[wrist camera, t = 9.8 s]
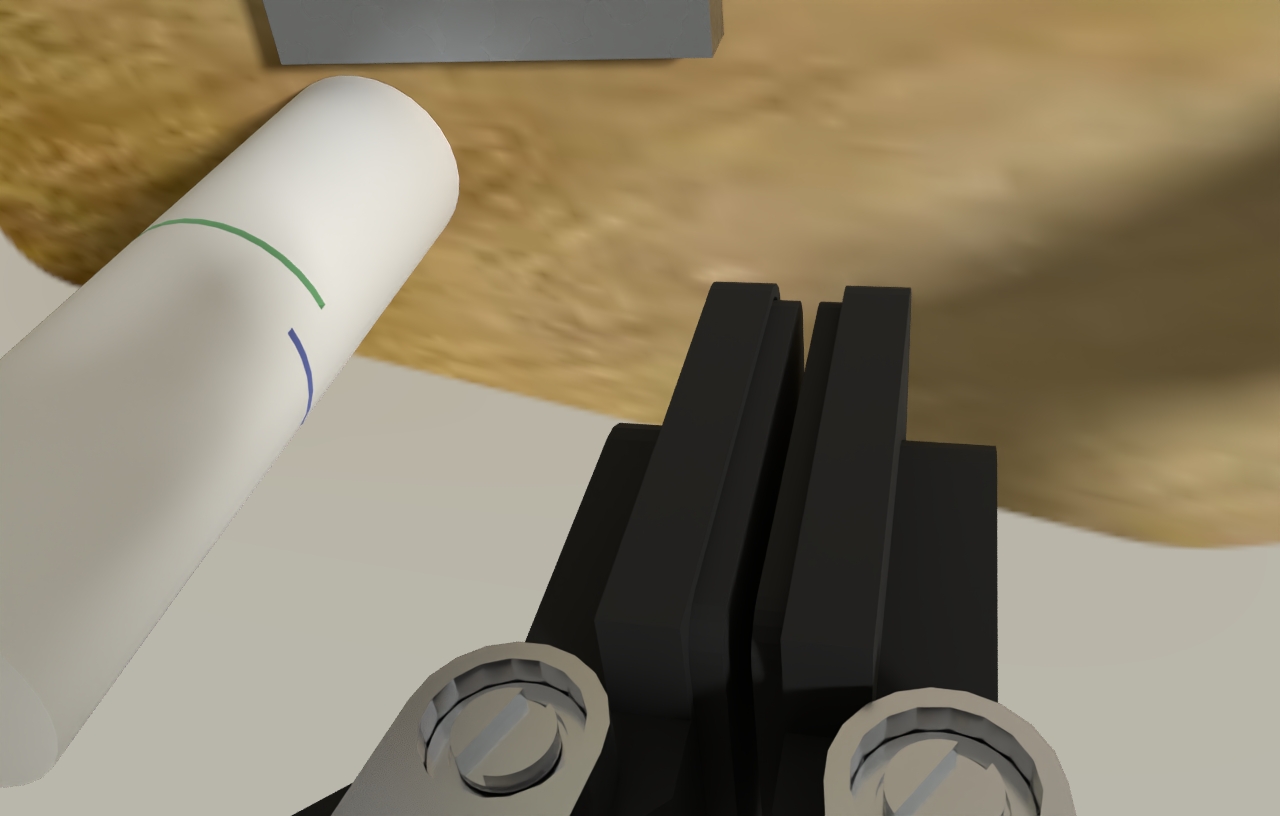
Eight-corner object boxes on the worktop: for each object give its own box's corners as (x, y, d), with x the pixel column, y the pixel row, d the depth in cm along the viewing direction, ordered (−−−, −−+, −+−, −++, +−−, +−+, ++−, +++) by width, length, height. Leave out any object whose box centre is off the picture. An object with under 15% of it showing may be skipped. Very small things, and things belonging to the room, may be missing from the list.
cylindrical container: (316, 252, 48) (-136, 772, 29) (253, 83, 44) (-325, 557, 24) (479, 246, 46) (111, 800, 27) (429, 68, 42) (-49, 571, 22)
